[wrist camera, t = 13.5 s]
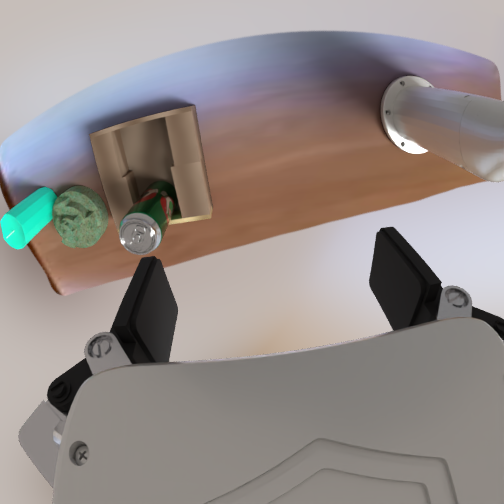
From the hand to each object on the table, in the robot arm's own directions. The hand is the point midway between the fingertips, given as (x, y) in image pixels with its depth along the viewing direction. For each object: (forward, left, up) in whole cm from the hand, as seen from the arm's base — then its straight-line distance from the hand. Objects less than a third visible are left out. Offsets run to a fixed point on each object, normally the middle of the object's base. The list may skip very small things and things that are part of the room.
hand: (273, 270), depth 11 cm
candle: (+35, +2, -28) cm, 45 cm away
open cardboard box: (+13, +1, -28) cm, 31 cm away
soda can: (+13, +5, -27) cm, 31 cm away
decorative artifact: (+28, +6, -29) cm, 40 cm away
